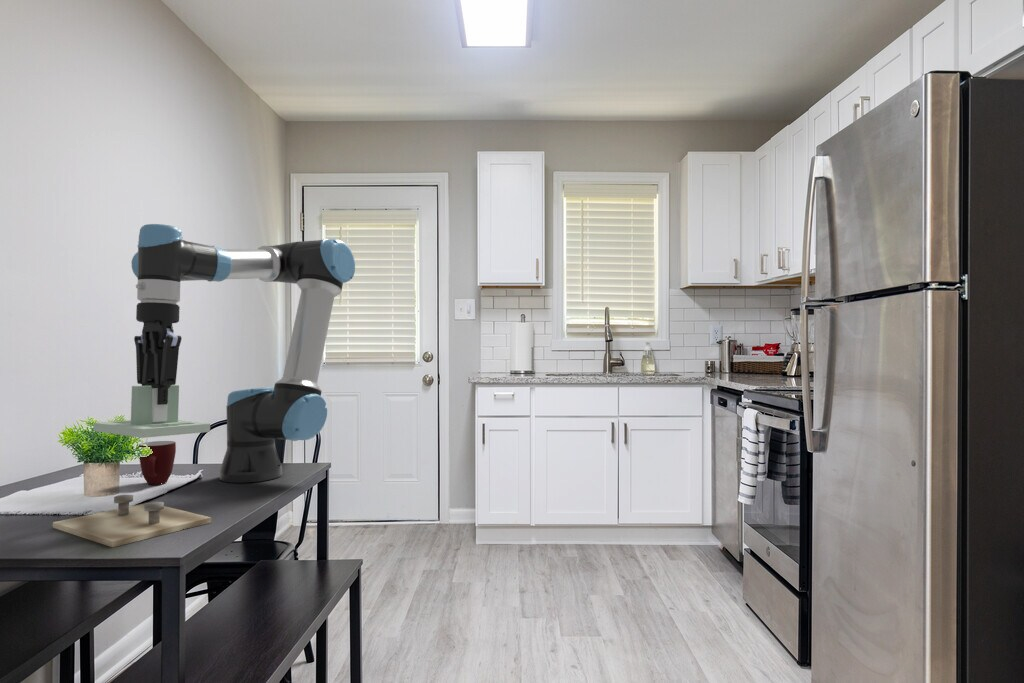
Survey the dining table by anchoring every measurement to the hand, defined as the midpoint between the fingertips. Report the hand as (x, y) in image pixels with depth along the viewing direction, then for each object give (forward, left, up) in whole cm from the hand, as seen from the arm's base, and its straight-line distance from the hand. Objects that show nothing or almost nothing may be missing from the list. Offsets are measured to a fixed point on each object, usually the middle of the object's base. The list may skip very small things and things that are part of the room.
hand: (155, 420), depth 126 cm
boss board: (+5, +1, -19) cm, 20 cm away
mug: (-17, -31, -20) cm, 41 cm away
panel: (+1, 0, -2) cm, 2 cm away
